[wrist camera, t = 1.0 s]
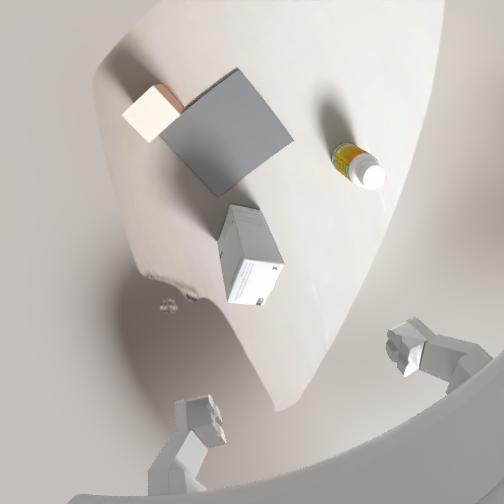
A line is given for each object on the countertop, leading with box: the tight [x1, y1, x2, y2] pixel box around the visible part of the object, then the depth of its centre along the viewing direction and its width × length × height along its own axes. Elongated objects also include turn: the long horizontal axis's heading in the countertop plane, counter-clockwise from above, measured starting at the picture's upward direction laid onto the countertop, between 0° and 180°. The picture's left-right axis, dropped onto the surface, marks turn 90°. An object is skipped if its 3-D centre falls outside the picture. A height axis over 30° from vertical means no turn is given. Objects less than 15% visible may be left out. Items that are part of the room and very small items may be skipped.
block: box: [122, 84, 184, 143], centre depth 33 cm, size 5×5×9 cm
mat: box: [159, 70, 294, 197], centre depth 41 cm, size 15×14×1 cm
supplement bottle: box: [332, 143, 385, 190], centre depth 42 cm, size 5×5×10 cm
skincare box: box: [218, 204, 284, 305], centre depth 44 cm, size 8×6×15 cm
